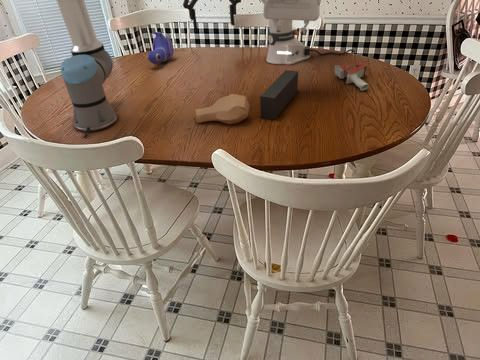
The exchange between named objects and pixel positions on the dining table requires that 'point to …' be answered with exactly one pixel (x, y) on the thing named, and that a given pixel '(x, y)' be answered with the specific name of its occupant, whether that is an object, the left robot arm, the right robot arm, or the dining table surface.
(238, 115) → the squash
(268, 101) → the bar
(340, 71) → the tape dispenser
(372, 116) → the dining table surface
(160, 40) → the toy
